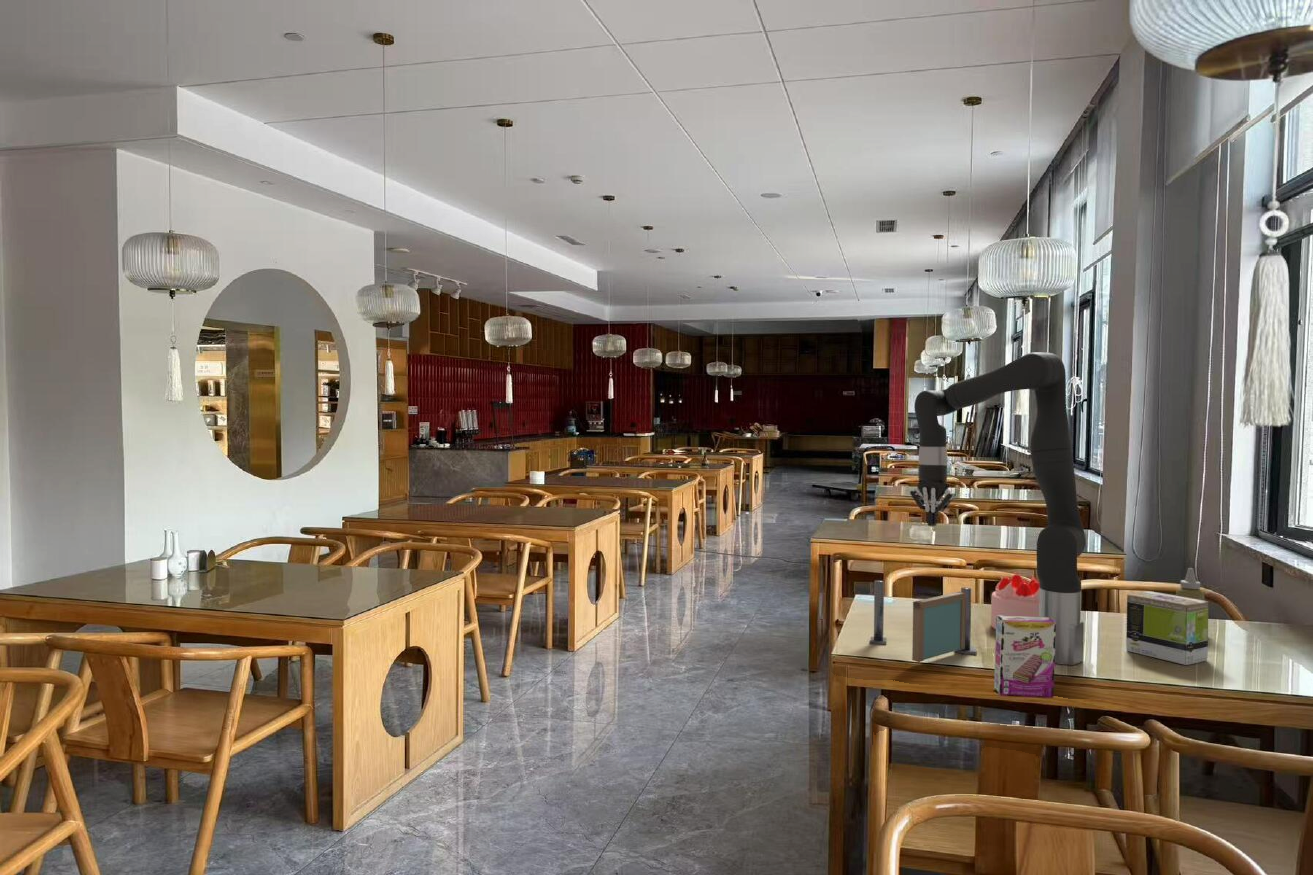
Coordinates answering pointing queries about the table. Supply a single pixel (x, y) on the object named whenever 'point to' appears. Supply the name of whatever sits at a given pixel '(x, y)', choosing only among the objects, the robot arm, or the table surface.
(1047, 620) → the candy bar box
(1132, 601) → the tea box
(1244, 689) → the table surface
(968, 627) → the gate posts
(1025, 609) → the cake
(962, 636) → the gate leaf
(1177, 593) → the squeeze bottle
